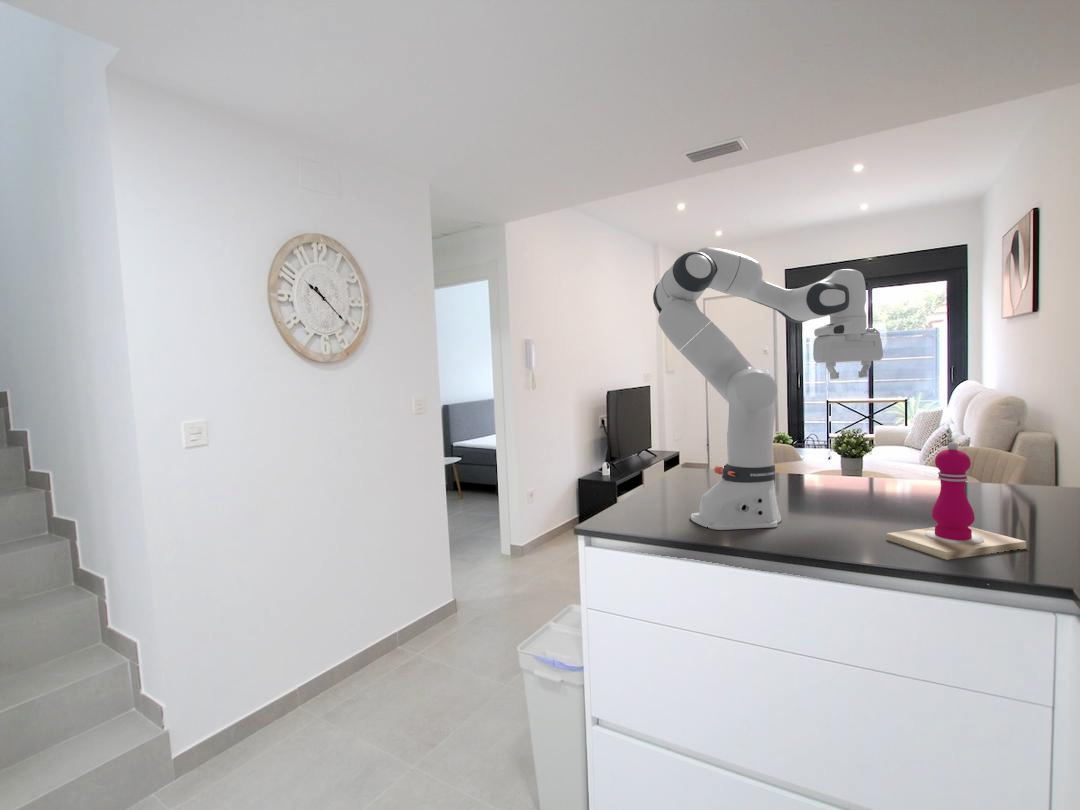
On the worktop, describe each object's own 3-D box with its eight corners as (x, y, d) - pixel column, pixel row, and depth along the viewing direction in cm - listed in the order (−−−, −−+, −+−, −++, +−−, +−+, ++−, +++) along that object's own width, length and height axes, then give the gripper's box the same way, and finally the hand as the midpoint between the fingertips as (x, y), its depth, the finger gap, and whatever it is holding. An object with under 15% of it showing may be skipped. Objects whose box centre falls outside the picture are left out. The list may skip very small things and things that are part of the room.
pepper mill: (982, 541, 112) (982, 444, 111) (942, 541, 113) (941, 444, 112) (962, 531, 119) (962, 440, 118) (925, 531, 120) (924, 440, 119)
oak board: (946, 559, 107) (946, 551, 107) (886, 539, 121) (886, 532, 121) (1026, 548, 111) (1026, 540, 111) (959, 530, 125) (959, 523, 125)
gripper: (870, 328, 158) (870, 376, 159) (809, 330, 153) (809, 379, 154) (888, 326, 152) (889, 376, 153) (825, 328, 147) (826, 379, 148)
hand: (848, 378), depth 153 cm, fingers open, 8 cm apart
